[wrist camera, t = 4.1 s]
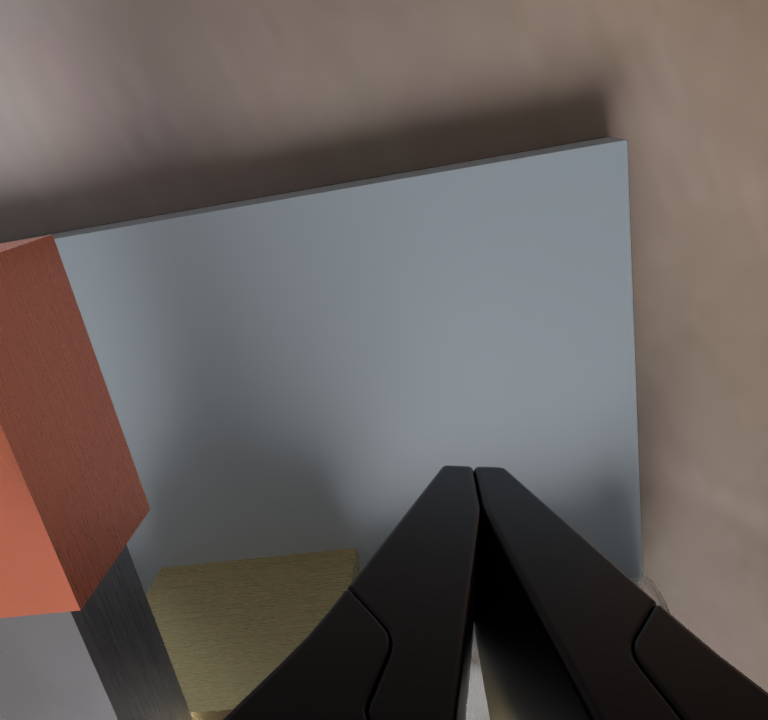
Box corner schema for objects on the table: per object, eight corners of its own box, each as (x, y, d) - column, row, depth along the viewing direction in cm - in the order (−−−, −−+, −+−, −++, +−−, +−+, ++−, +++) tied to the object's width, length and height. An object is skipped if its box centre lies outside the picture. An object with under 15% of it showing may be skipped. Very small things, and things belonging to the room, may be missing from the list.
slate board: (608, 137, 16) (626, 140, 14) (634, 688, 22) (648, 727, 20) (-187, 275, 18) (-238, 289, 17) (40, 731, 25) (17, 768, 23)
